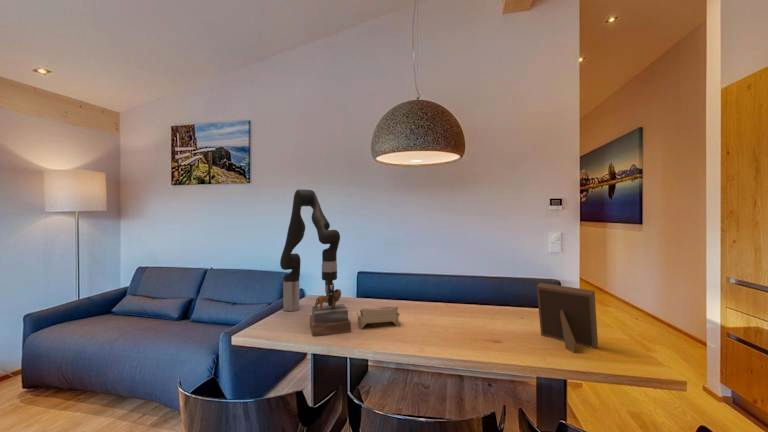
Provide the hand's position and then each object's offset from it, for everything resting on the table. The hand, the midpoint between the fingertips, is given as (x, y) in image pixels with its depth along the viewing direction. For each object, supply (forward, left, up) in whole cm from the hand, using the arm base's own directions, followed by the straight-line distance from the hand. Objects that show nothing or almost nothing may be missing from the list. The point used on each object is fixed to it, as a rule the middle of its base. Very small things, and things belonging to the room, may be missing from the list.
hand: (329, 303), depth 161 cm
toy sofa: (+2, +25, -13) cm, 28 cm away
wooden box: (0, 0, -12) cm, 12 cm away
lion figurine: (-1, -1, -3) cm, 3 cm away
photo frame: (+51, +95, -13) cm, 109 cm away
